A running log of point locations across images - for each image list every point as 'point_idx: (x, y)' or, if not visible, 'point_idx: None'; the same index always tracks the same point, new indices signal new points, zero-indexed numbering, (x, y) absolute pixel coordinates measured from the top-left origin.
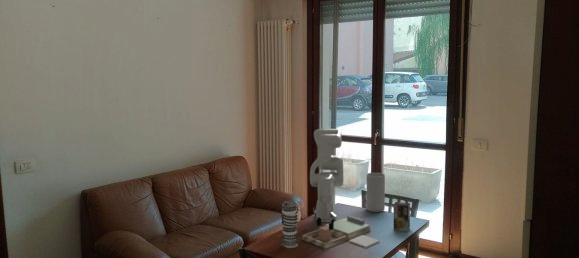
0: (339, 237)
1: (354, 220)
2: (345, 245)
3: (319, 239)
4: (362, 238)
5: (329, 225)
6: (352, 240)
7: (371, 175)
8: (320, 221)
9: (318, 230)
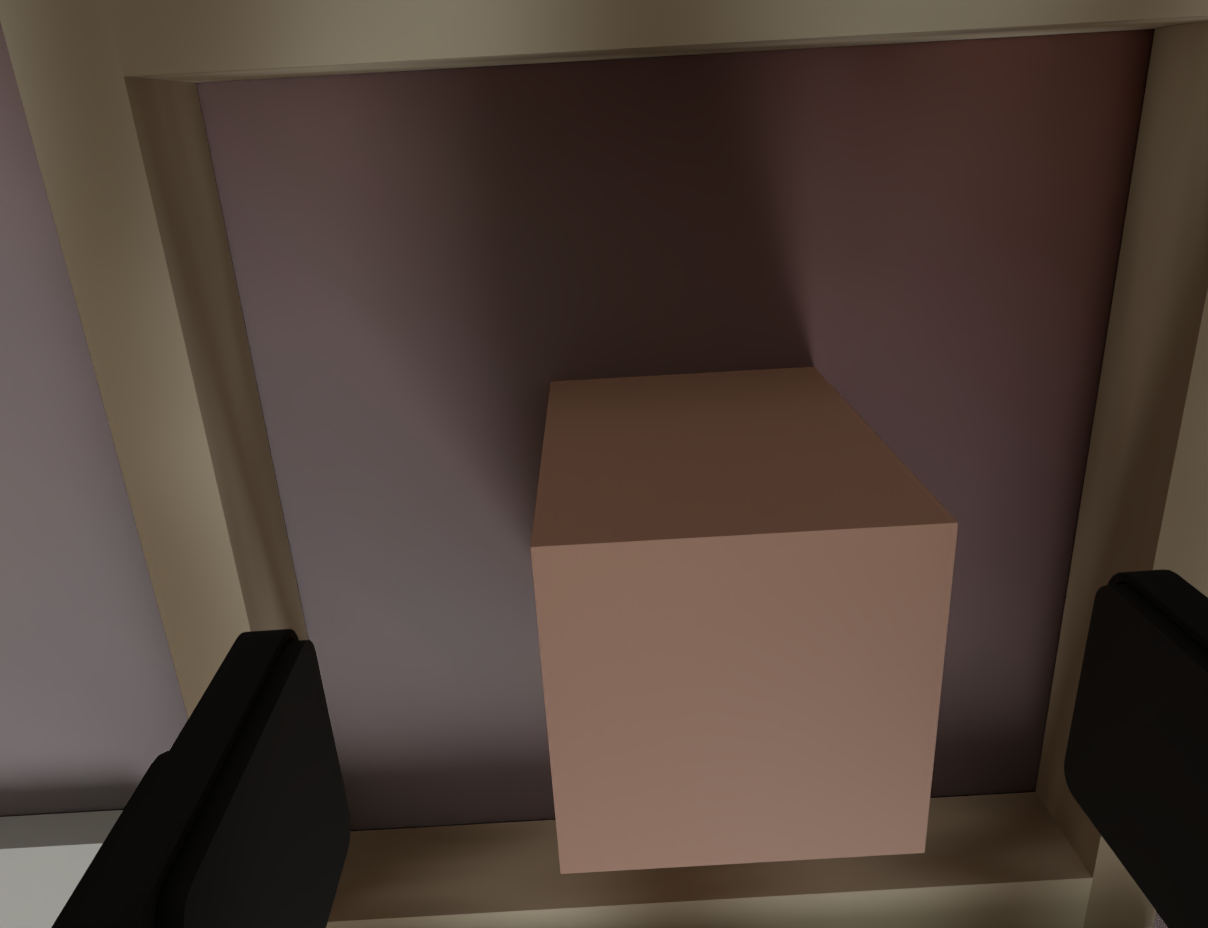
0: (530, 824)
1: None
2: (23, 616)
3: (798, 369)
4: None
5: (154, 798)
6: None
7: None
8: (1189, 888)
9: None
